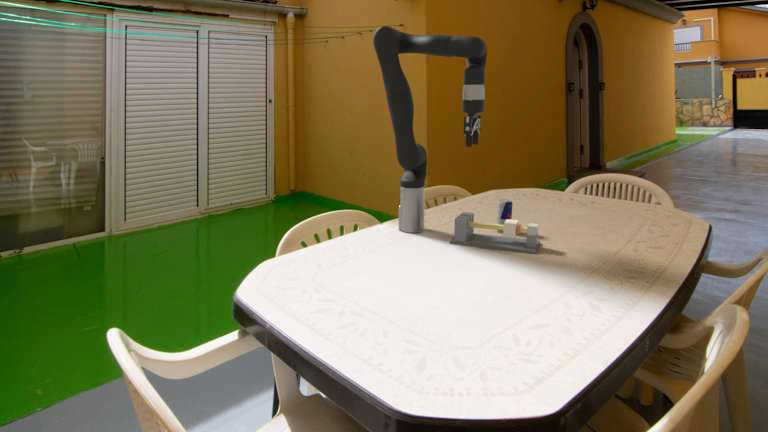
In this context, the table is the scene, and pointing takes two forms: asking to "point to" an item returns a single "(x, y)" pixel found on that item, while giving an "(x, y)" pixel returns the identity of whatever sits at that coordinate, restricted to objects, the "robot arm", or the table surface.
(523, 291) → the table surface
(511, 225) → the sleeve
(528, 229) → the cord rig
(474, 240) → the grey base plate
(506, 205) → the energy drink
